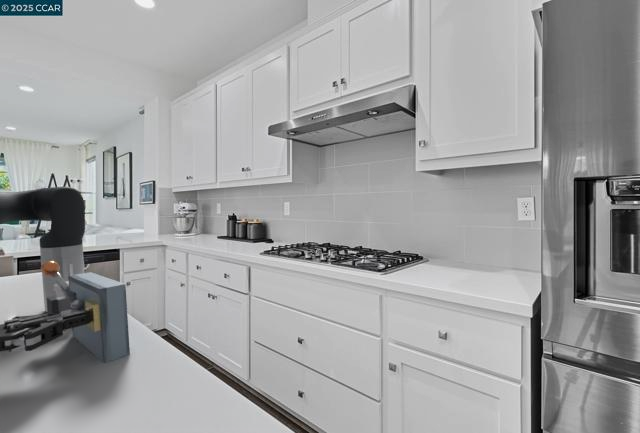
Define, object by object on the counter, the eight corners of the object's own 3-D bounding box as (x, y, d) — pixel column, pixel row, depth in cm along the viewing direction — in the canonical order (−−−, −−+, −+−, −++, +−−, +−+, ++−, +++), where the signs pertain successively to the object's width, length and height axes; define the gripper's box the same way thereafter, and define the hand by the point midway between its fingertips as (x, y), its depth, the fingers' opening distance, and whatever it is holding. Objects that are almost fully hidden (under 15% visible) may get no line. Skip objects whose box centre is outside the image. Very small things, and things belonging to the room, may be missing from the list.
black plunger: (47, 312, 66) (46, 297, 66) (71, 306, 69) (70, 292, 69) (52, 316, 64) (51, 300, 63) (77, 310, 67) (76, 295, 67)
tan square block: (86, 326, 60) (84, 300, 59) (111, 319, 63) (109, 295, 63) (94, 331, 57) (92, 305, 57) (120, 324, 60) (118, 299, 60)
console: (65, 338, 69) (61, 276, 69) (94, 330, 73) (90, 272, 73) (96, 365, 56) (91, 290, 56) (129, 354, 60) (125, 284, 60)
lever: (69, 310, 63) (36, 265, 59) (84, 302, 64) (52, 257, 61) (73, 313, 61) (39, 267, 57) (88, 304, 63) (55, 258, 59)
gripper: (-62, 337, 40) (100, 301, 54) (-64, 316, 49) (77, 289, 62) (-57, 396, 41) (103, 346, 54) (-59, 365, 49) (80, 328, 63)
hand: (89, 316), depth 58 cm, fingers closed
